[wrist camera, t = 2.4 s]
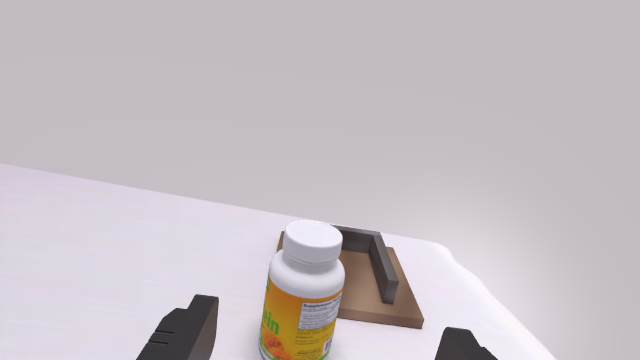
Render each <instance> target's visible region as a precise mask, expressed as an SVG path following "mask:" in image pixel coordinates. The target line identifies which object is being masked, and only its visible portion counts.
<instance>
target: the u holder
mask: <svg viewBox="0 0 640 360" xmlns="http://www.w3.org/2000/svg"><path fill="white" fill-rule="evenodd" d="M331 226H333V227H335V228H336V229H338V230H339V231H340V233H341V234H342V237H343V240H342V246H341V252H340V255H339V257H338V259H339V260H340V262H341V263H342V265H343V267H344V271H345V279H344V285H343V290H342V294H341V299H340V304H339V308H338V313H337V317H338V318H345V319H352V320H360V321H367V322H375V323H382V324H389V325H397V326H404V327H412V328H419V329H421V328H422V325H423V322H424V318H423V316H422V313H421V311H420V309H419V306H418V304H417V302H416V300H415V297H414V295H413V293H412V290H411V288H410V286H409V284H408V281H407V279H406V277H405V274H404V272H403V270H402V267H401V265H400V263H399V261H398V258H397V256H396V254H395V251H394V249H393V248H392V247H385V244H384V242H383V239H382V236H381V234H380V232H376V231H369V230H362V229H356V228H349V227H342V226H336V225H331ZM283 238H284V231H282V232H281V236H280V241H279V245H278V249H277V252H278V251H280V250H281V249H283V247H282V245H283Z"/></svg>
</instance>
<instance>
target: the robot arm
mask: <svg viewBox="0 0 640 360" xmlns="http://www.w3.org/2000/svg"><path fill="white" fill-rule="evenodd" d="M218 304H219V298H218V297H214V296H206V295H198V294H196V295H195V296H194V298H193V300H192V302H191V303H190V305H189V307H188V309H181V308H176V309H174V310H173V311H172V312H170V313H169V314H168V315H166V316H165V317H164V318H163V319H162V320H161V322H160V323H159V325H158V327H157V328H156V330H155V333H153V334H152V336H151V337H150V339H149V340H148V343H147V344H146V345H145V347H144V348H143V350H142V351H141V353H140V354H139V356H138V357H137V359H136V360H209V359H210V356H211V353H212V350H213V347H214V343H215V337H216V328H217V316H218ZM435 360H498V359H497V358H496V357H495V356H493V355H492V354H491V353H490V352H489V351H488V350H487V349H486V348H485V347H480V345H479V344H478V342H477V340H476V339H475V337H474V336H473V334H472V332H471V331H470V330H467V329H460V328H452V327H446V328H445V329H444V332H443V335H442V338H441V341H440V344H439V347H438V351H437V354H436V357H435Z"/></svg>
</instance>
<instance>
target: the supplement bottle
mask: <svg viewBox="0 0 640 360" xmlns="http://www.w3.org/2000/svg"><path fill="white" fill-rule="evenodd" d="M342 240H343V237H342V234H341V233H340V231H339V230H338V229H336V228H335V227H333V226H331V225H329V224H327V223H324V222H320V221H314V220H298V221H294V222H291V223H290V224H288V225H287V226H286V228H285V232H284V238H283V245H282V247H283V249H281V250H280V251H278V252H277V253H276V254H275V255H274V256H273V258H272V260H271V262H270V266H269V272H268V280H267V287H266V294H265V302H264V309H263V315H262V323H261V329H260V337H259V347H260V351H261V353H262V355H263V357H264V358H265V360H325V359H326V358H327V356H328V353H329V349H330V345H331V341H332V336H333V332H334V327H335V322H336V318H337V313H338V308H339V304H340V299H341V294H342V290H343V285H344V279H345V271H344V267H343V265H342V263H341V262H340V260H339V259H338V257H339V255H340V252H341V246H342Z"/></svg>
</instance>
